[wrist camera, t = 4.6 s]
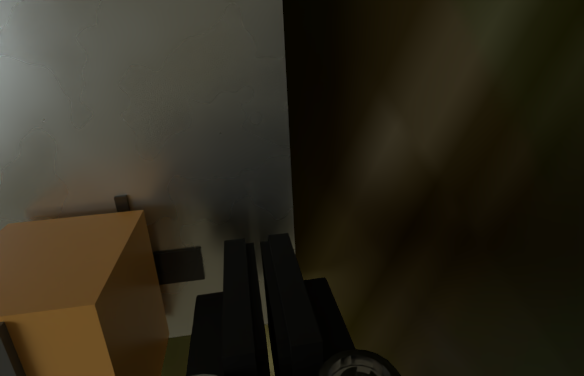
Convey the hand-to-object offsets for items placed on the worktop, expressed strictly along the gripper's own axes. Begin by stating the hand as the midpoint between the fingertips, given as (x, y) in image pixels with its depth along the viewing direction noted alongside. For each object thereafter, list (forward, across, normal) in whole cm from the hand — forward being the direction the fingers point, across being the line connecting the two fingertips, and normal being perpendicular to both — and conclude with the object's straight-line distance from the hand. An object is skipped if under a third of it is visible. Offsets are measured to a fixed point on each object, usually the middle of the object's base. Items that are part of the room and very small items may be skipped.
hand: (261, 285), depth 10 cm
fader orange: (+1, +4, 0) cm, 4 cm away
